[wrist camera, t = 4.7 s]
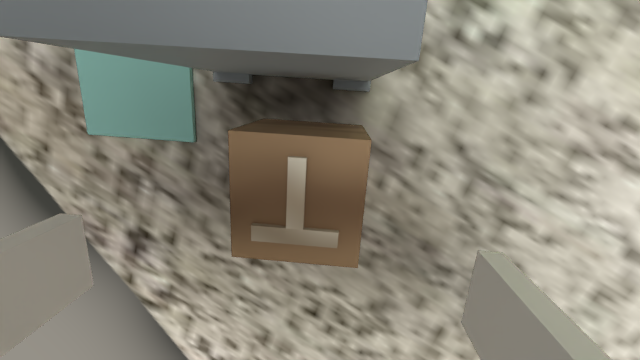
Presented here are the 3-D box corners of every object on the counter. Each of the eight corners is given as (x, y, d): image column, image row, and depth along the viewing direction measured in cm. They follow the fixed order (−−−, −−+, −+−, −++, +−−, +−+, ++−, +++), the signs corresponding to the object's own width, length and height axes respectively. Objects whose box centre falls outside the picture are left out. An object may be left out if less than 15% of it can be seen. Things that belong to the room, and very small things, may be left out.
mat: (73, 14, 20) (68, 13, 20) (189, 21, 20) (186, 19, 19) (92, 133, 22) (87, 134, 22) (196, 141, 22) (193, 142, 22)
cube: (263, 118, 21) (225, 131, 14) (361, 125, 21) (372, 141, 14) (263, 209, 23) (229, 259, 16) (352, 216, 23) (357, 271, 16)
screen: (216, 44, 20) (-36, -55, 7) (372, 53, 20) (442, -33, 6) (218, 81, 21) (-9, 61, 7) (368, 91, 20) (423, 89, 7)
